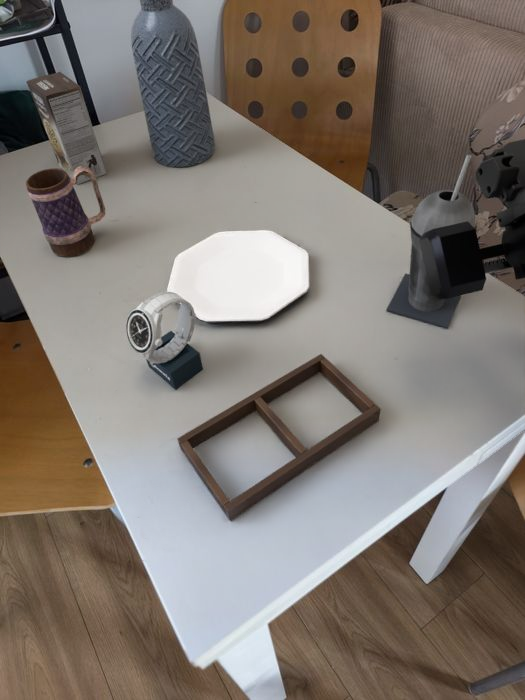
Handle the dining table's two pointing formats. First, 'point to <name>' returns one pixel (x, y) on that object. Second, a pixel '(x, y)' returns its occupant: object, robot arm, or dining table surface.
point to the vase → (171, 85)
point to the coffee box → (67, 124)
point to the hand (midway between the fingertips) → (475, 259)
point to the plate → (240, 276)
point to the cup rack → (279, 433)
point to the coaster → (404, 308)
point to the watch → (165, 339)
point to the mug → (64, 210)
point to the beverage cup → (428, 216)
